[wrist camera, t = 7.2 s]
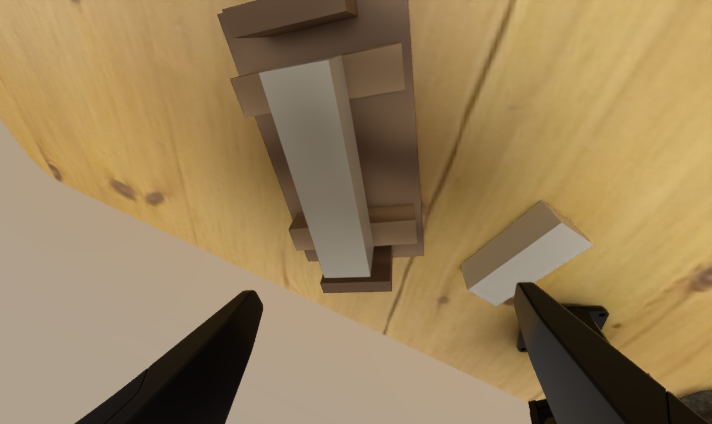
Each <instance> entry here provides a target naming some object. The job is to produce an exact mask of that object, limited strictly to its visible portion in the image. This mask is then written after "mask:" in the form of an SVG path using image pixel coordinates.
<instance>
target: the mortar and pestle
mask: <svg viewBox="0 0 712 424" xmlns="http://www.w3.org/2000/svg"><path fill="white" fill-rule="evenodd" d="M680 400H681V401H682V402H683V403H684V404H686V405H687V406H688V407H689V408H691V409H692V410H693V411H694V412H696V413H697V414H698V415H700V416H701V417H702V418H703V419H705V420H706V421H707V422H709V423H710V424H712V391H705V392H698V393H695V394H693V395H690V396H687V397H684V398H681V399H680Z"/></svg>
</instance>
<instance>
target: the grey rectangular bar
mask: <svg viewBox="0 0 712 424" xmlns="http://www.w3.org/2000/svg"><path fill="white" fill-rule="evenodd" d="M259 75H260V79H261V82H262V85H263V88H264V91H265V94H266V97H267V100H268V103H269V107H270V110H271V113H272V116H273V119H274V122H275V125H276V128H277V131H278V135H279V138H280V141H281V144H282V147H283V150H284V153H285V156H286V159H287V163H288V166H289V169H290V172H291V175H292V178H293V181H294V184H295V187H296V191H297V194H298V197H299V200H300V203H301V206H302V209H303V212H304V215H305V219H306V222H307V225H308V228H309V231H310V234H311V237H312V240H313V243H314V247H315V250H316V253H317V256H318V259H319V262H320V265H321V268H322V271H323V275H324V278H342V277H370V276H371V267H372V258H373V249H374V244H373V238H372V232H371V226H370V220H369V214H368V208H367V203H366V197H365V191H364V185H363V179H362V173H361V167H360V161H359V156H358V150H357V144H356V138H355V132H354V126H353V120H352V114H351V109H350V103H349V97H348V91H347V85H346V79H345V73H344V67H343V61H342V56H341V55H338V56H332V57H327V58H322V59H317V60H311V61H306V62H301V63H296V64H290V65H285V66H281V67H278V68H274V69H271V70H267V71H264V72H260V73H259Z"/></svg>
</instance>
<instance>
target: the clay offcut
mask: <svg viewBox="0 0 712 424" xmlns="http://www.w3.org/2000/svg"><path fill="white" fill-rule="evenodd" d="M592 246H593V244H592V242H591V241H590V240H589V239H588V238H587V237H586V236H585V235H584V234H583V233H582V232H581V231H580V230H579V229H578V227H577V226H576V225H575V224H574V223H573V222H572V221H571V220H570V219H568V218H567V217H565V216H564V215H562V214H561V213H560V212H558V211H557V210H555V209H554V208H552V207H551V206H550V205H548V204H547V203H545V202H544V201H542V200H541V201H540V202H539V203H537V204H536V205H535V206H534V207H532V208H531V209H530V210H529V211H527V212H526V213H525V214H524V215H522V216H521V217H520V218H519V219H517V220H516V221H515V222H514V223H512V224H511V225H510V226H509V227H507V228H506V229H505V230H504V231H502V232H501V233H500V234H499V235H497V236H496V237H495V238H494V239H492V240H491V241H490V242H489V243H487V244H486V245H485V246H483V247H482V248H481V249H480V250H478V251H477V252H476V253H475V254H473V255H472V256H471V257H470V258H468V259H467V260H466V261H465V262H463V263H462V264H461V269H462V272H463V276H464V279H465V283H466V286H467V290H468V291H470V292H472V293H473V294H475V295H477V296H479V297H480V298H482V299H484V300H486V301H488V302H489V303H491V304H493V305H495V306H498V305H499V304H501V303H503V302H504V301H506V300H507V299H509V298H511V297H512V296H514V295H515V289H516V284H517V283H518V282H533V283H534V282H536V281H538V280H539V279H541V278H542V277H544V276H546V275H547V274H549V273H550V272H552V271H554V270H555V269H557V268H558V267H560V266H561V265H563V264H565V263H566V262H568V261H569V260H571V259H573V258H574V257H576V256H577V255H579V254H581V253H582V252H584V251H585V250H587V249H589V248H590V247H592Z"/></svg>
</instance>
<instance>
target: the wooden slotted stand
mask: <svg viewBox="0 0 712 424" xmlns="http://www.w3.org/2000/svg"><path fill="white" fill-rule="evenodd" d="M222 11H223V13H221V14H217V16H218V18H219V21H220V24H221V27H222V29H223V32H224V35H225V37H226V40H227V43H228V46H229V48H230V51H231V54H232V56H233V59H234V62H235V64H236V67H237V70H238V73H239V75H240V76H239V77H235V78H232V79H230V81H231V83H232V86H233V88H234V91H235V93H236V96H237V99H238V101H239V104H240V106H241V109H242V111H243V114H244V117H250V116H255V119H256V121H257V124H258V127H259V129H260V132H261V135H262V138H263V140H264V143H265V146H266V148H267V151H268V154H269V157H270V159H271V162H272V165H273V167H274V170H275V173H276V175H277V178H278V181H279V184H280V186H281V189H282V192H283V194H284V197H285V200H286V203H287V205H288V208H289V211H290V213H291V216H292V219H293V222H292V224H291V226H290V228H289V232H290V235H291V237H292V240H293V242H294V245H295V248H296V250H297V251H298V250H304V251H305V254H306V257H307V259H308V261H319V259H318V256H317V253H316V250H315V247H314V243H313V240H312V237H311V234H310V231H309V228H308V225H307V222H306V219H305V215H304V212H303V209H302V206H301V203H300V200H299V197H298V194H297V191H296V187H295V184H294V181H293V178H292V175H291V172H290V169H289V166H288V163H287V159H286V156H285V153H284V150H283V147H282V144H281V141H280V138H279V135H278V131H277V128H276V125H275V122H274V119H273V116H272V113H271V110H270V107H269V103H268V100H267V97H266V94H265V91H264V88H263V85H262V82H261V79H260V75H259V73H260V72H264V71H267V70H271V69H274V68H278V67H281V66H285V65H290V64H296V63H301V62H306V61H311V60H317V59H322V58H327V57H332V56H338V55H341V56H342V61H343V67H344V73H345V79H346V85H347V91H348V97H349V103H350V109H351V114H352V120H353V126H354V132H355V138H356V144H357V150H358V156H359V161H360V167H361V173H362V179H363V185H364V191H365V197H366V203H367V208H368V214H369V220H370V226H371V232H372V238H373V244H374V249H373V258H372V267H371V276H370V277H342V278H324V275H323V276H322V280H321V283H320V284H321V287H322V290H323V293H345V292H387V291H392V259H393V257H411V256H424V244H423V229H422V213H421V197H420V181H419V166H418V150H417V134H416V118H415V102H414V87H413V71H412V55H411V39H410V24H409V8H408V0H256V1H252V2H248V3H245V4H241V5H237V6H234V7H230V8H226V9H222Z"/></svg>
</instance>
